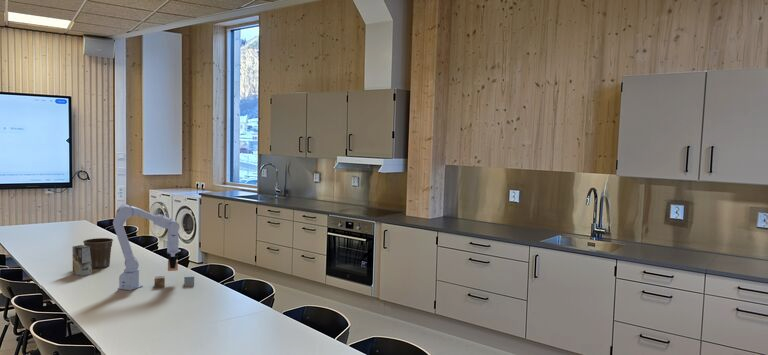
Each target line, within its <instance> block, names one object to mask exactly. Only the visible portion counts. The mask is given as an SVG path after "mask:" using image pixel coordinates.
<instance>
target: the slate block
mask: <svg viewBox="0 0 768 355" xmlns="http://www.w3.org/2000/svg"><path fill="white" fill-rule="evenodd" d="M183 278H184V280H183V281H184V282H183V283H184V287H187V286H188V287H190V286H193V287H194V286H195V274H184V276H183Z"/></svg>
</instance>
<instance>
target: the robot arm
mask: <svg viewBox="0 0 768 355" xmlns="http://www.w3.org/2000/svg"><path fill="white" fill-rule="evenodd" d="M131 217H133V218H134V217H142V218H143V219H144V218H145V219H146V220H149V221H152V222H153V225H155V226H158V227H161V228H163V229H167V237H166V238H167V240H166V242H167V243H166V244H167V248H166V249H167V250H166V254H167V255H166V256H167V259H168V260H169V262H170V268H175V265H176V260H178V258H179V253H180V252H181V249H179V243H180V242H179V236H180V235H179V230H180V229H181V228H180V224H179V223H178V221H176V220H175V219H173V218H171V217H170V218H169V217H166V216H165V215H164V214H152V212H151V213H150V212H148V211H146V210H143V209H141V208H140V207H139V208H138V207H136V206H133V205H131V206H130V204H126V203H125V204H121V205H120V206H119V207H118V208H117V210H116V211H115V216H114V219H113V221H112V225H113V228H114V231H115V234H116V238H117V240H118V243H119V246H120V249H121V251H122V254H123V258H124V266H125V268H124V269H123V272H122V273H121V274H119V277H118V278H119V279H118V287H117V289H118V290H125V291H132V290H135V289H138V288H143V284H140V269H139V265H140V264H139V262H138V259H137V258H136V257H135V256H134V254H133V250H132V247H131V243H130V241H129V238H128V236H127V232H126V230H125V226H124V224H125V223H126V221H127V220H128V219H130V218H131Z"/></svg>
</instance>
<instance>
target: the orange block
mask: <svg viewBox="0 0 768 355" xmlns="http://www.w3.org/2000/svg"><path fill="white" fill-rule="evenodd" d="M178 266H179V260H178V259H177V260H176V265H175V268H170V262H169V259H168V260H167V271H168V272H173V271H176V272H178V271H179V269H178V268H179V267H178Z"/></svg>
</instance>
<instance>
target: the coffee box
mask: <svg viewBox="0 0 768 355" xmlns="http://www.w3.org/2000/svg"><path fill="white" fill-rule="evenodd" d="M71 248H72V275H77V276H80V277H84V276H89V275H92V273H93V271H92V270H93V268H92V247H91V246H85V245H84V244H80V245H73V246H72V247H71Z"/></svg>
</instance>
